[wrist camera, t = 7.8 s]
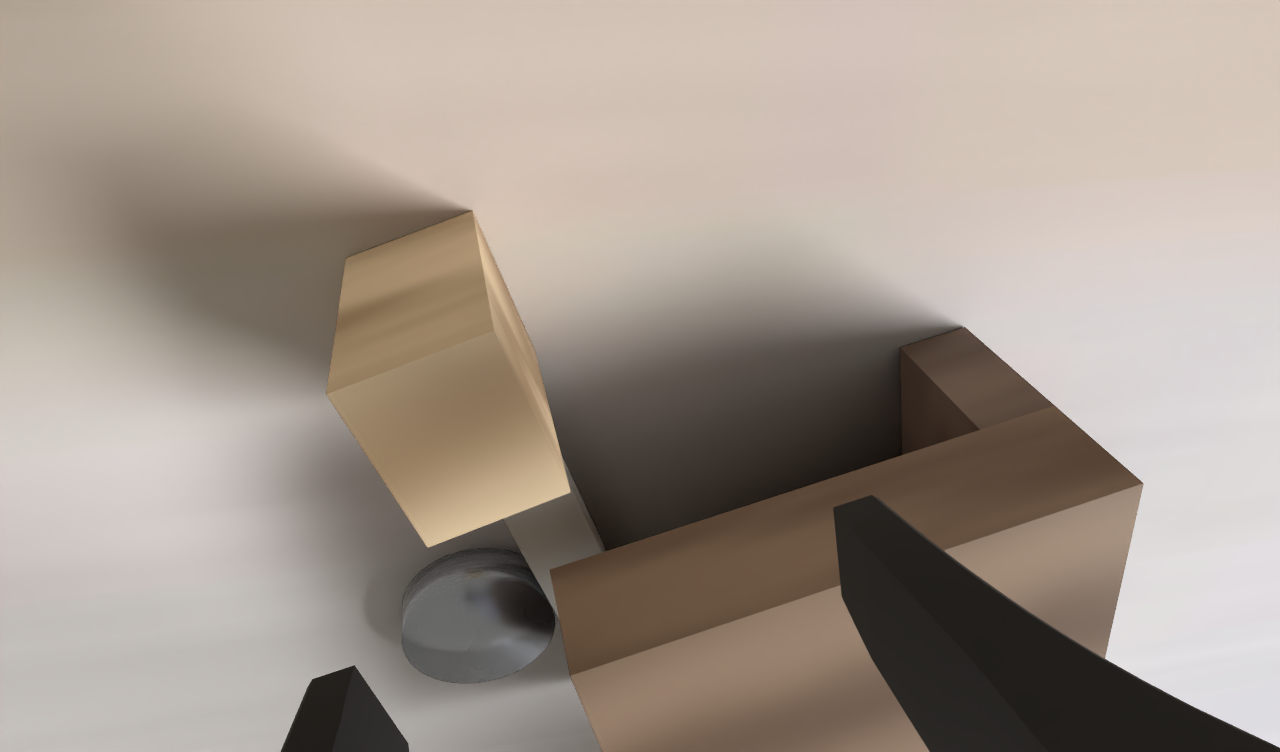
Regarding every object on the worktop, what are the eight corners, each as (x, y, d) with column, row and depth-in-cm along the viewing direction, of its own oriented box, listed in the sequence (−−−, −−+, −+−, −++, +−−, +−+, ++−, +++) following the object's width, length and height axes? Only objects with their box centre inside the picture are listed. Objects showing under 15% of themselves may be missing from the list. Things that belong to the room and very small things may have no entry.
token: (567, 611, 26) (574, 649, 25) (439, 661, 26) (440, 701, 25) (517, 521, 24) (524, 558, 23) (375, 576, 24) (374, 616, 23)
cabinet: (955, 558, 29) (1088, 731, 24) (608, 675, 28) (659, 886, 22) (964, 327, 23) (1143, 483, 18) (529, 464, 22) (570, 675, 17)
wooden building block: (651, 611, 27) (700, 765, 22) (566, 645, 27) (598, 805, 22) (472, 210, 18) (493, 330, 14) (346, 257, 18) (325, 394, 14)
